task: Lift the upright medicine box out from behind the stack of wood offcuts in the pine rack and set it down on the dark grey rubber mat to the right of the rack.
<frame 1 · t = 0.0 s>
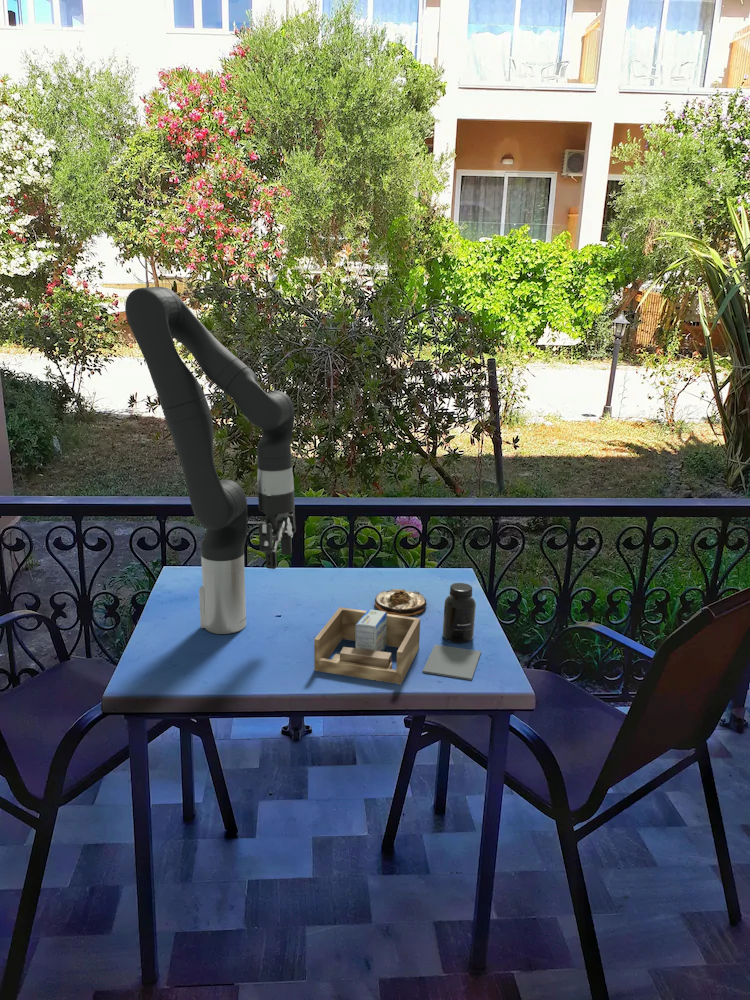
hand: (279, 561, 172), 17 cm above the table, tool pointing down, fingers open, 8 cm apart
supplement bottle: (458, 637, 178), on the table
medicine box: (371, 655, 169), resting in rack
mat: (452, 662, 166), on the table
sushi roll: (401, 608, 193), on the table
offcut stack: (361, 670, 162), resting in rack
rack: (368, 659, 167), on the table
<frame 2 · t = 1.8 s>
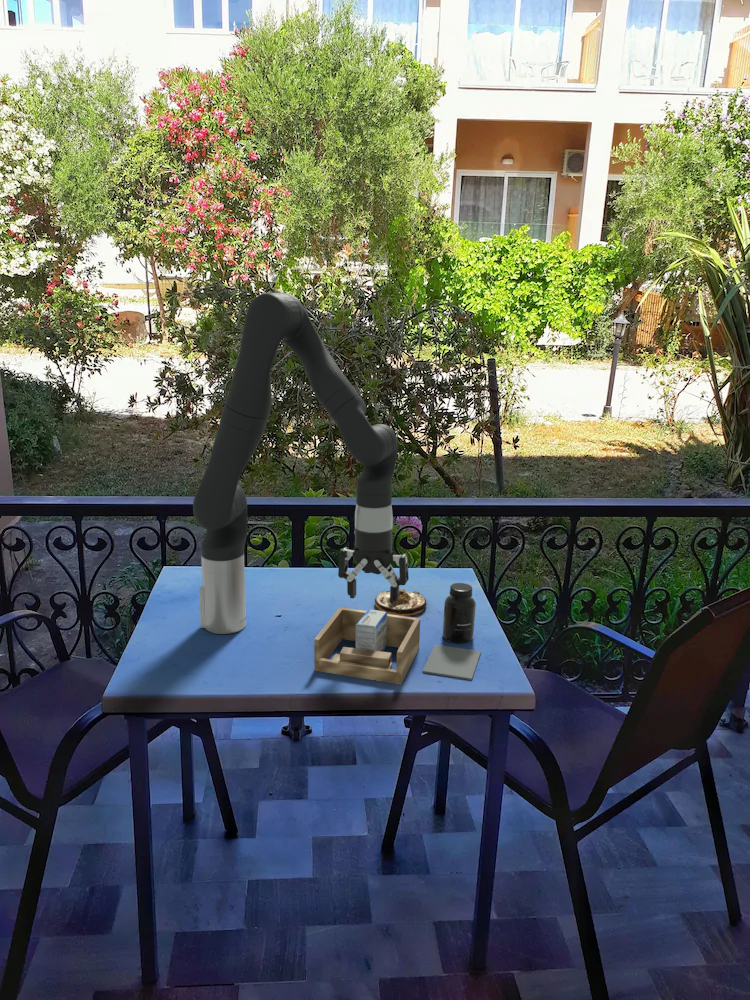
hand: (373, 599, 165), 13 cm above the table, tool pointing down, fingers open, 8 cm apart
nothing on the table moved.
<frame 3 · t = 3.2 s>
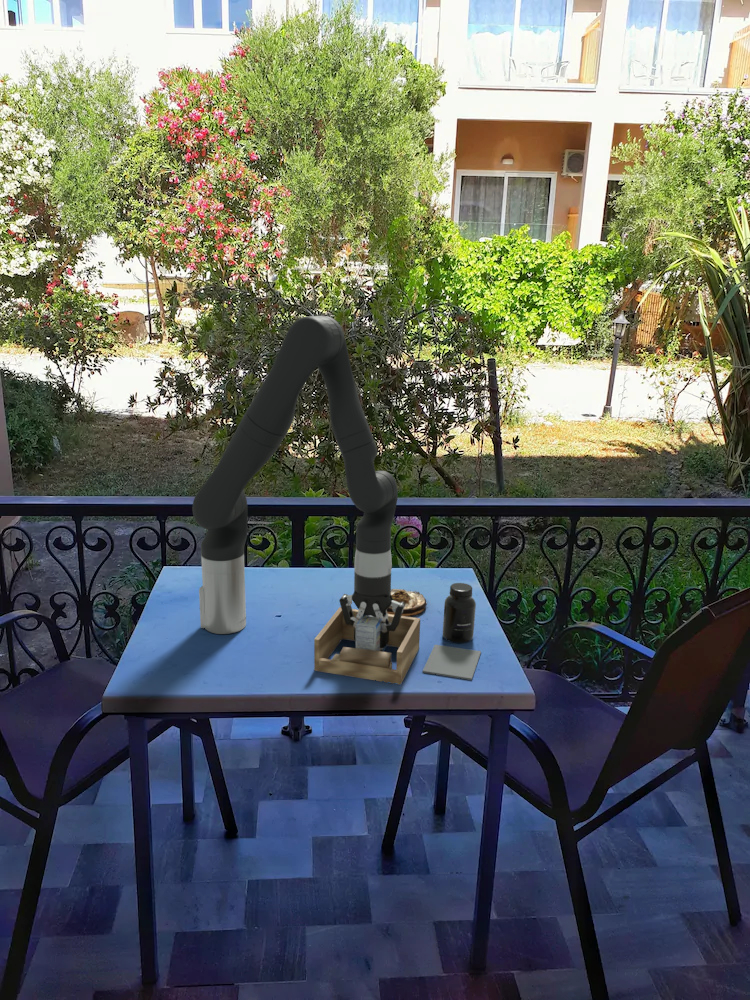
hand: (371, 644, 168), 2 cm above the table, tool pointing down, fingers closed on medicine box, 4 cm apart
medicine box: (370, 655, 169), resting in rack, touching gripper
everything else where it was.
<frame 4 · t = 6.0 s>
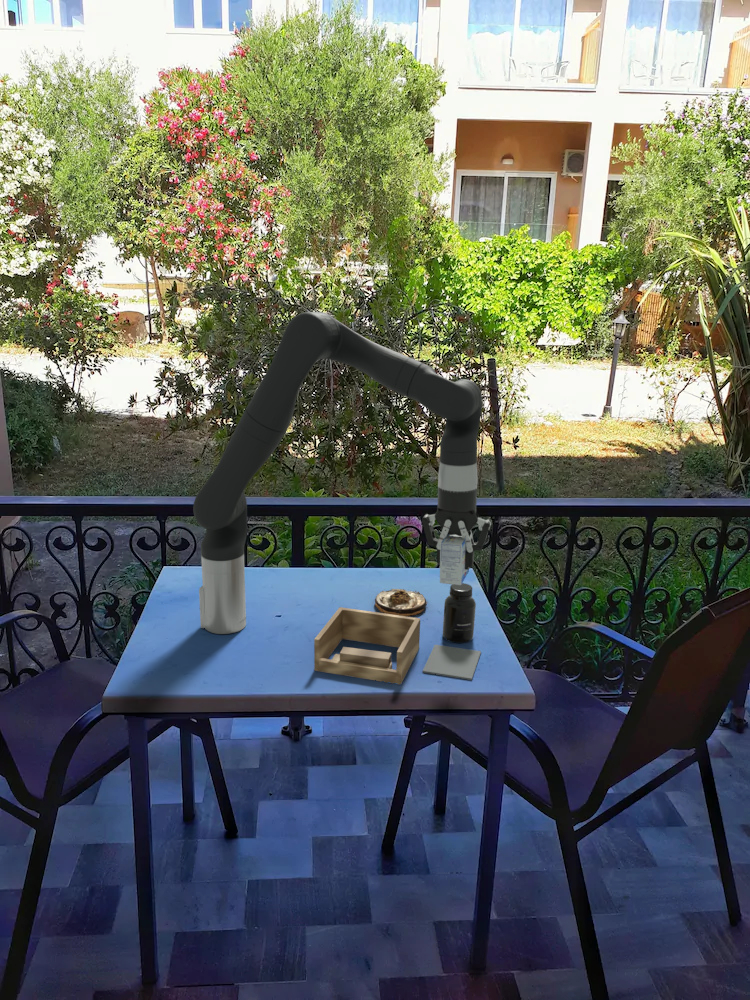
hand: (455, 566, 160), 21 cm above the table, tool pointing down, fingers closed on medicine box, 4 cm apart
medicine box: (454, 578, 161), point 19 cm above the table, touching gripper
everything else where it was.
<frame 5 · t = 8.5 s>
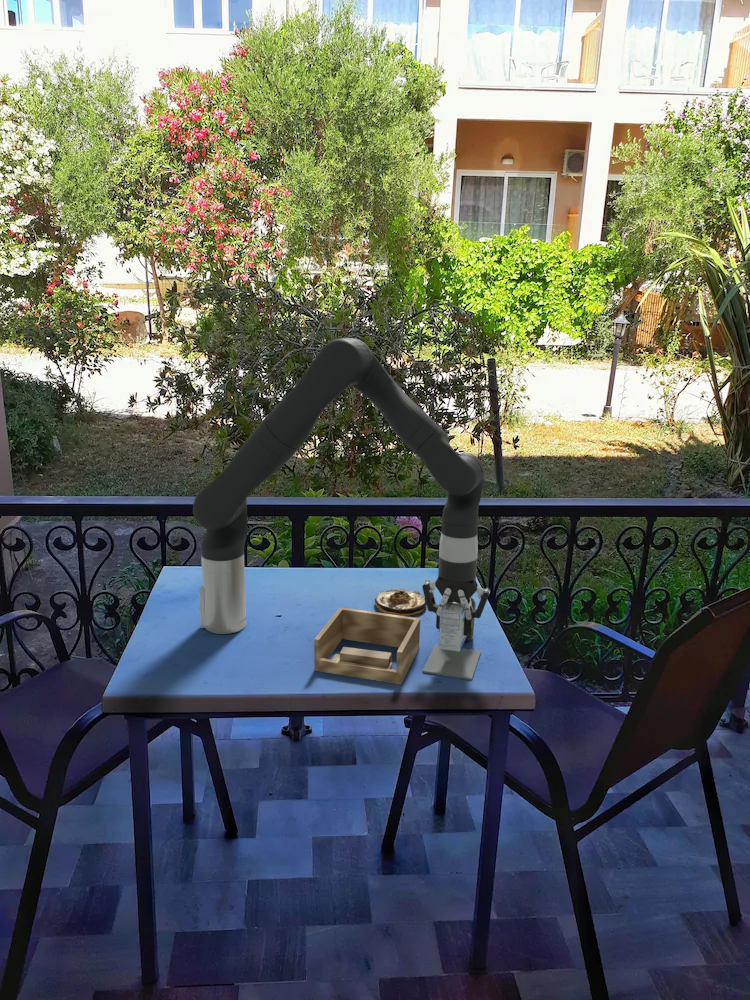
hand: (453, 632, 164), 7 cm above the table, tool pointing down, fingers closed on medicine box, 4 cm apart
medicine box: (453, 643, 165), point 4 cm above the table, touching gripper
everything else where it was.
when the fingers open (4 cm above the table, at t = 9.6 s): medicine box drops 1 cm, resting on mat.
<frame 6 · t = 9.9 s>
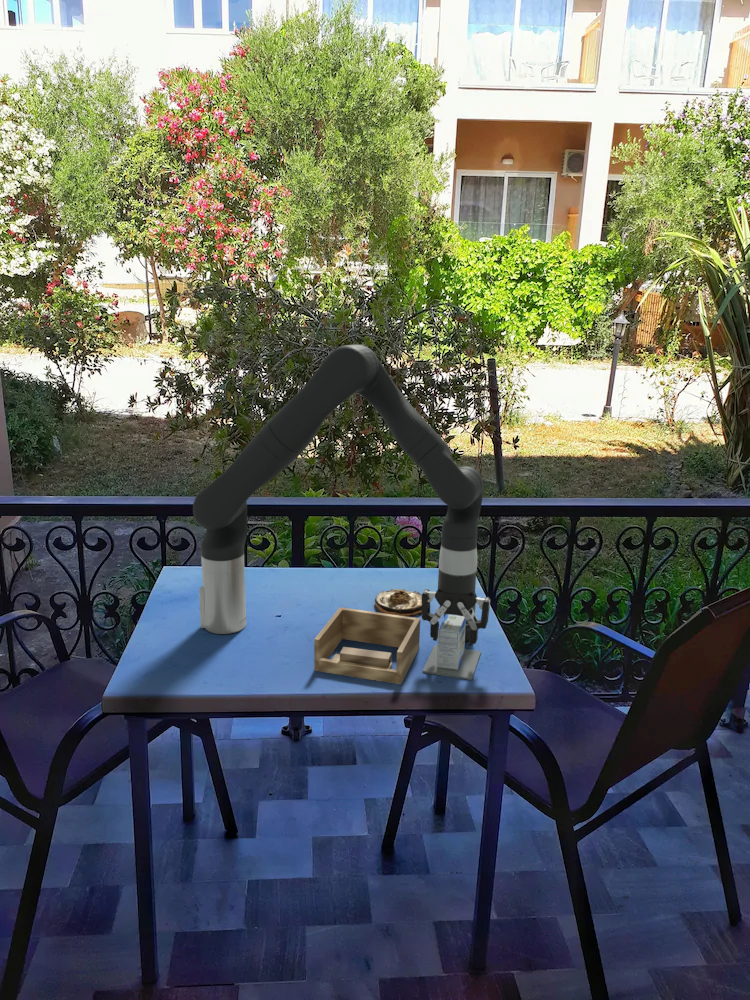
hand: (453, 641, 165), 5 cm above the table, tool pointing down, fingers open, 7 cm apart
medicine box: (450, 661, 166), resting on mat
everything else where it was.
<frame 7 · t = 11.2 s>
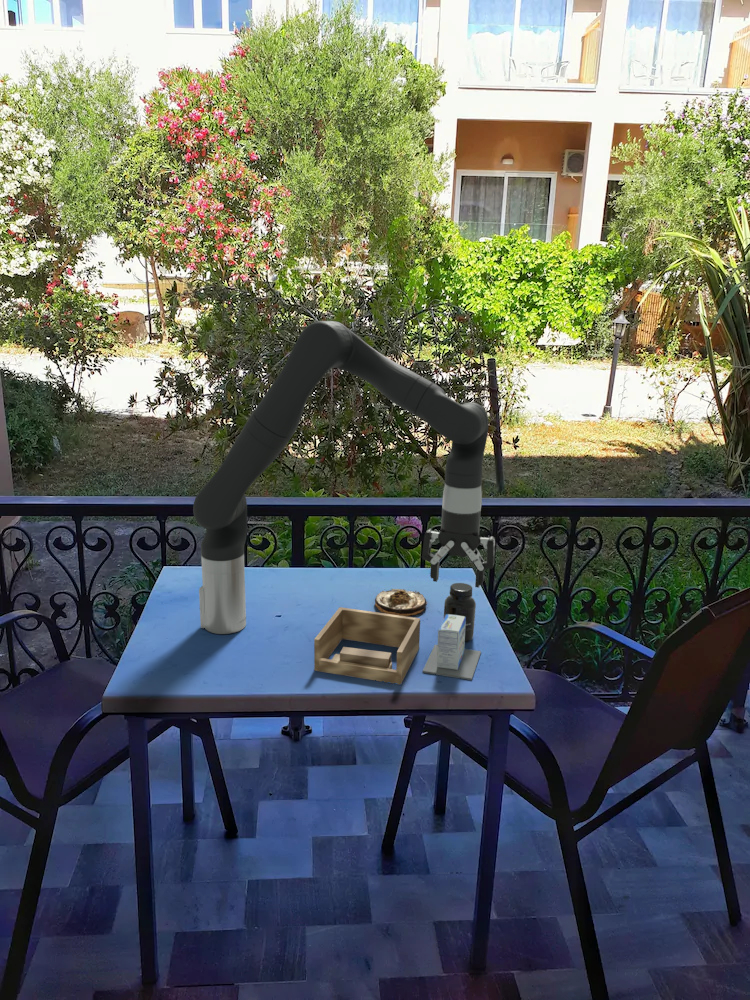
hand: (456, 583, 161), 18 cm above the table, tool pointing down, fingers open, 8 cm apart
nothing on the table moved.
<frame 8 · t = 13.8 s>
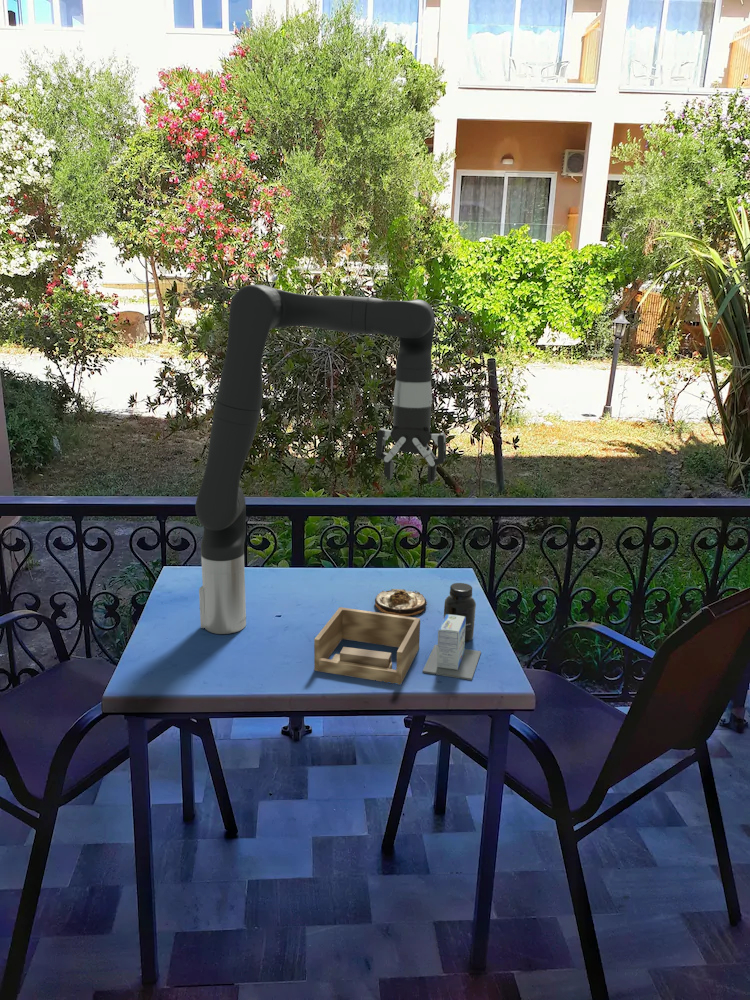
hand: (409, 480, 165), 36 cm above the table, tool pointing down, fingers open, 8 cm apart
nothing on the table moved.
at the end: medicine box inside the target area (0.4 cm from its centre), resting on mat; medicine box tilted 0°; the gripper is holding nothing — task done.
